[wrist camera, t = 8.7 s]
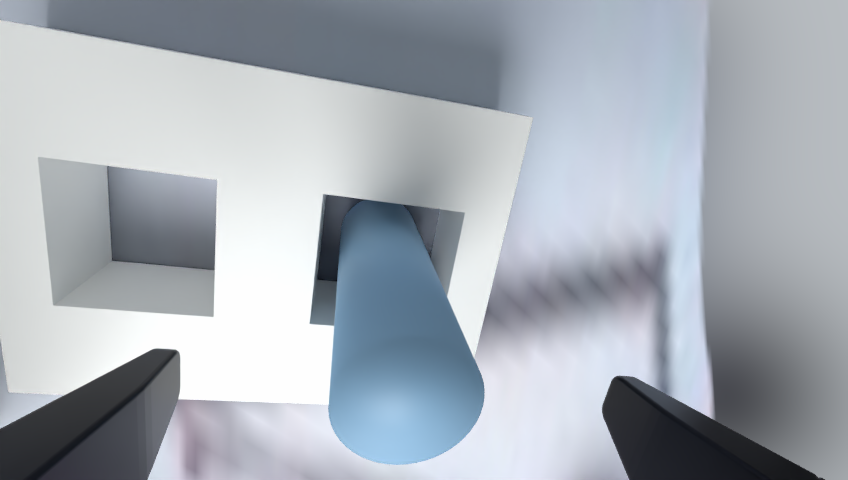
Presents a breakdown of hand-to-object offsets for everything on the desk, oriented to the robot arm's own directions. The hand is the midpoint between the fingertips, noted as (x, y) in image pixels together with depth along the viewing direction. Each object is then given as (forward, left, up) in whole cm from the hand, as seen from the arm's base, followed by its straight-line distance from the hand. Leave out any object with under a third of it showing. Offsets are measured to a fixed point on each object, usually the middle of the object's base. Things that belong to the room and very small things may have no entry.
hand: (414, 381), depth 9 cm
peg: (0, 0, -9) cm, 9 cm away
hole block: (-4, 0, -9) cm, 10 cm away
